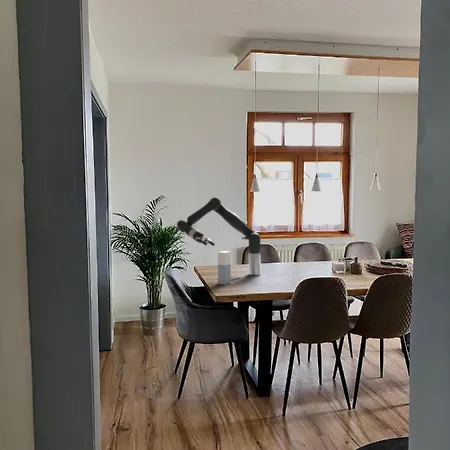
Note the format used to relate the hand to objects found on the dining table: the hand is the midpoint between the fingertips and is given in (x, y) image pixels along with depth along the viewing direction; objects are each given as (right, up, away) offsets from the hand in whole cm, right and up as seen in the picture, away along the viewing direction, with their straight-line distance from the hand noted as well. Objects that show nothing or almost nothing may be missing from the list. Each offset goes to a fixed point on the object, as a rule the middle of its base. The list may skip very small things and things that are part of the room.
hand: (210, 244), depth 346 cm
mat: (+14, -26, +8) cm, 31 cm away
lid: (+10, -14, -11) cm, 20 cm away
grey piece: (+10, -28, -10) cm, 31 cm away
